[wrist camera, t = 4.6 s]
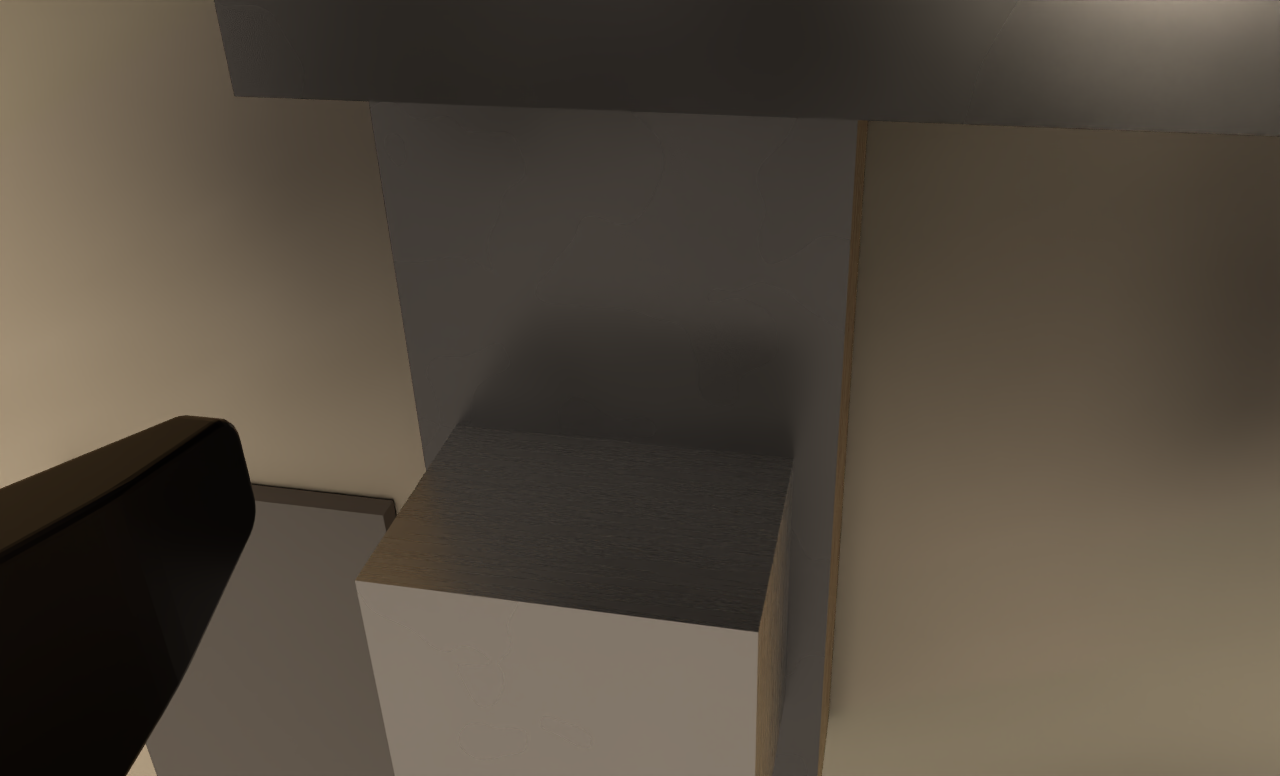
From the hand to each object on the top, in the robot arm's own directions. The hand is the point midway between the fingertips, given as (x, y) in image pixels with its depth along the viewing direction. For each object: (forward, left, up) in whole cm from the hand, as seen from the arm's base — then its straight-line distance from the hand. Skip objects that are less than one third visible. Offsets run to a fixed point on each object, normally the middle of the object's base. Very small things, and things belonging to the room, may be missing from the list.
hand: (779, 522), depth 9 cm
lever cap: (-4, +2, -4) cm, 7 cm away
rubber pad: (-10, +10, -7) cm, 16 cm away
